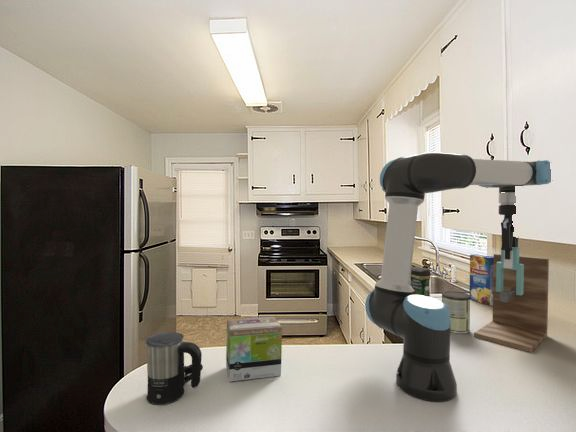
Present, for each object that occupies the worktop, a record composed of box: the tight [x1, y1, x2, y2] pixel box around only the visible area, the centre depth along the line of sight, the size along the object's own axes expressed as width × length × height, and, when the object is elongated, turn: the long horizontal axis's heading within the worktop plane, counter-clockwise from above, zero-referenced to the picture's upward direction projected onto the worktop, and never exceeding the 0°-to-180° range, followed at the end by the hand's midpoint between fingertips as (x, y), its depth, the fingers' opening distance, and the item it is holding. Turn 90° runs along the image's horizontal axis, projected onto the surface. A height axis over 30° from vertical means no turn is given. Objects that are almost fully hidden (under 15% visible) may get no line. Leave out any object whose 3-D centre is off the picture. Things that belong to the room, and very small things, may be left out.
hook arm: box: [500, 287, 520, 303], centre depth 125 cm, size 18×2×4 cm, turn 131°
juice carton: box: [468, 253, 494, 306], centre depth 173 cm, size 12×8×24 cm, turn 21°
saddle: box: [496, 246, 524, 296], centre depth 123 cm, size 3×8×17 cm, turn 41°
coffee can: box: [441, 290, 471, 335], centre depth 133 cm, size 10×10×14 cm
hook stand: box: [473, 253, 550, 353], centre depth 125 cm, size 22×18×30 cm
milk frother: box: [145, 331, 204, 406], centre depth 89 cm, size 14×16×15 cm
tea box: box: [225, 316, 283, 383], centre depth 97 cm, size 15×10×15 cm, turn 105°
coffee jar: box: [410, 266, 431, 297], centre depth 168 cm, size 10×8×19 cm
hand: (509, 267), depth 123 cm, fingers closed on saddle, 3 cm apart
